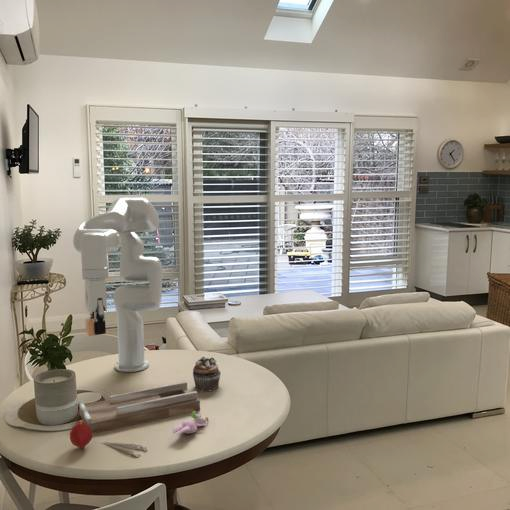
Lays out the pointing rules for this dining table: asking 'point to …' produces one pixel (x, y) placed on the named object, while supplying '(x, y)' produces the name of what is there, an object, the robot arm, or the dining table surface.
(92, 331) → the block
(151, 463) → the dining table surface
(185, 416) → the dining table surface
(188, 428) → the pink plastic figure
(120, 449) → the tweezers
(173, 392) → the trap tube
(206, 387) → the cupcake
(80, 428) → the onion
